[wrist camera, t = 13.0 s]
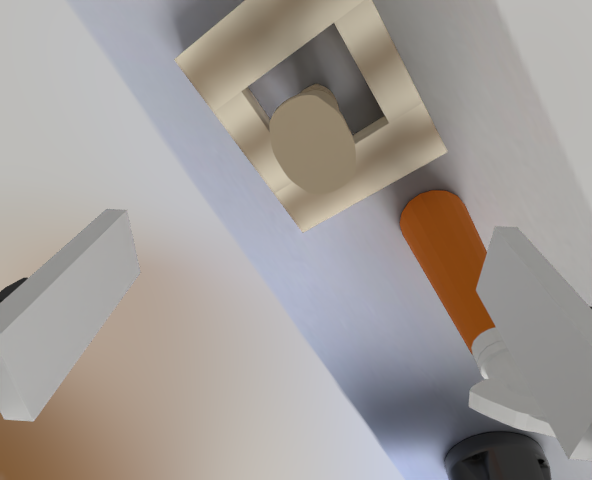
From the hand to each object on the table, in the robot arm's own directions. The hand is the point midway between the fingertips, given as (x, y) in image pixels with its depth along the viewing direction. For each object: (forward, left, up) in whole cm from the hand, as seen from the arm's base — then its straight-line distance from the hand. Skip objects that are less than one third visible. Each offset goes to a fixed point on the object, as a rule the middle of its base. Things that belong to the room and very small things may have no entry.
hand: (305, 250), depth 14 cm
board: (0, 0, -27) cm, 27 cm away
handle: (0, 0, -27) cm, 27 cm away
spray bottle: (-11, -15, -27) cm, 33 cm away
